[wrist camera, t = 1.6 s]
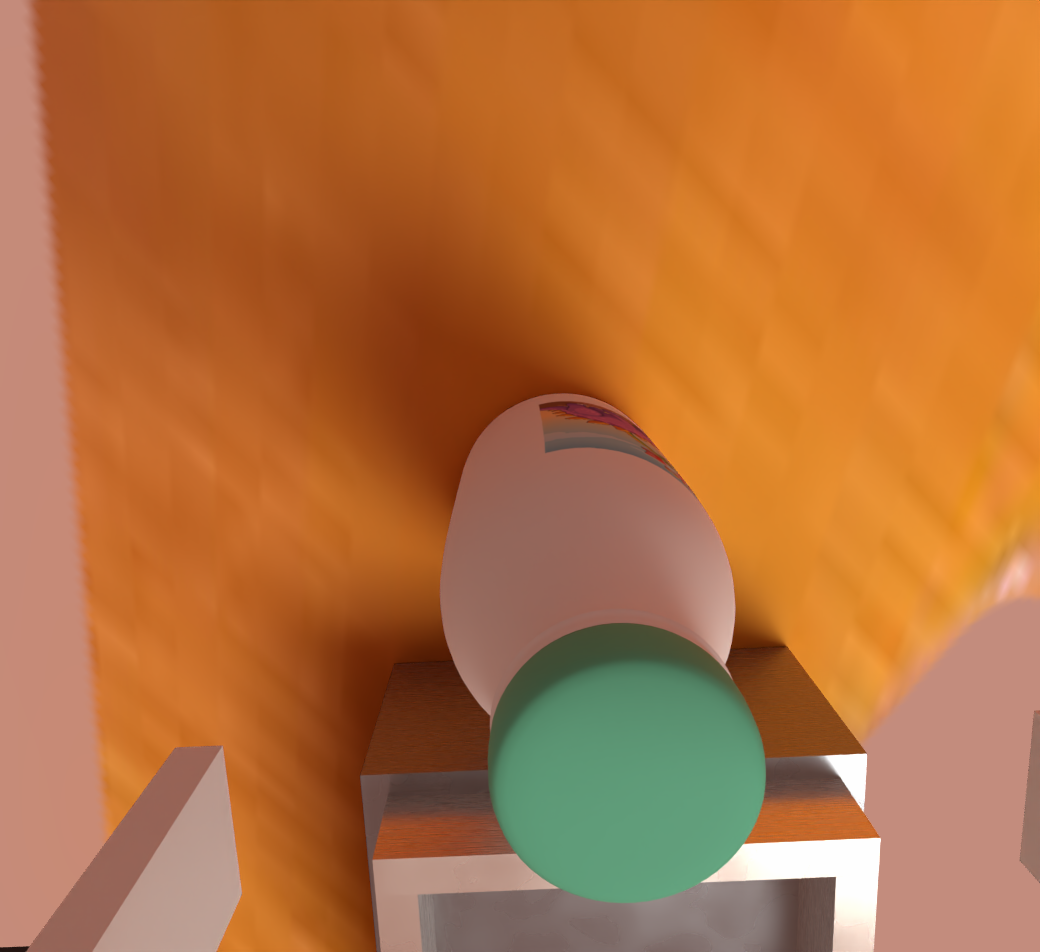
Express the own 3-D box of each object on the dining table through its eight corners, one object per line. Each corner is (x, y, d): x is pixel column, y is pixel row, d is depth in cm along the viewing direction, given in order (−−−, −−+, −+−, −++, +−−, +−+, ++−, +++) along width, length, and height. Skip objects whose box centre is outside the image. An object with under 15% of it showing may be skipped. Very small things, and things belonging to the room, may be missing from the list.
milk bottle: (529, 617, 34) (551, 1064, 15) (422, 458, 33) (292, 724, 13) (696, 519, 33) (953, 856, 14) (594, 351, 32) (724, 467, 12)
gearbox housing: (394, 663, 35) (341, 836, 24) (787, 646, 35) (910, 811, 24) (423, 1014, 39) (388, 1297, 28) (776, 999, 39) (878, 1277, 28)
